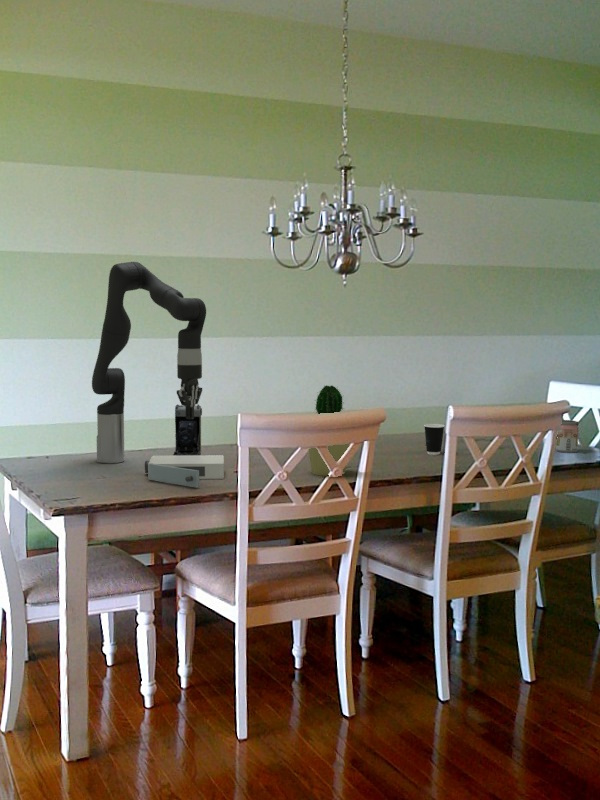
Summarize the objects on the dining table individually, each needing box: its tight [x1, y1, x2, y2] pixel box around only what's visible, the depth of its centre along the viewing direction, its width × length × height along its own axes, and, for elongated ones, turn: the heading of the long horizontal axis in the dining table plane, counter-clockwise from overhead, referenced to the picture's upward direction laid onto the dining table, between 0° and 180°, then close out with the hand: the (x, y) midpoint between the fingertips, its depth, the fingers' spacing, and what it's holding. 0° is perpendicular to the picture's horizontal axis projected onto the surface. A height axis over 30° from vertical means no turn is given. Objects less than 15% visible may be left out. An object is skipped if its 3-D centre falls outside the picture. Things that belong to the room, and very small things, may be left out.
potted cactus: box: [308, 384, 350, 477], centre depth 290 cm, size 15×15×30 cm
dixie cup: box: [423, 423, 446, 456], centre depth 331 cm, size 8×8×11 cm
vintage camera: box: [172, 404, 203, 456], centre depth 311 cm, size 10×16×20 cm, turn 2°
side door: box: [148, 463, 200, 488], centre depth 270 cm, size 21×3×5 cm, turn 55°
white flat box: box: [144, 454, 225, 481], centre depth 286 cm, size 26×16×5 cm, turn 95°
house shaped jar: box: [555, 419, 580, 454], centre depth 340 cm, size 9×8×12 cm
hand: (189, 418), depth 269 cm, fingers closed
